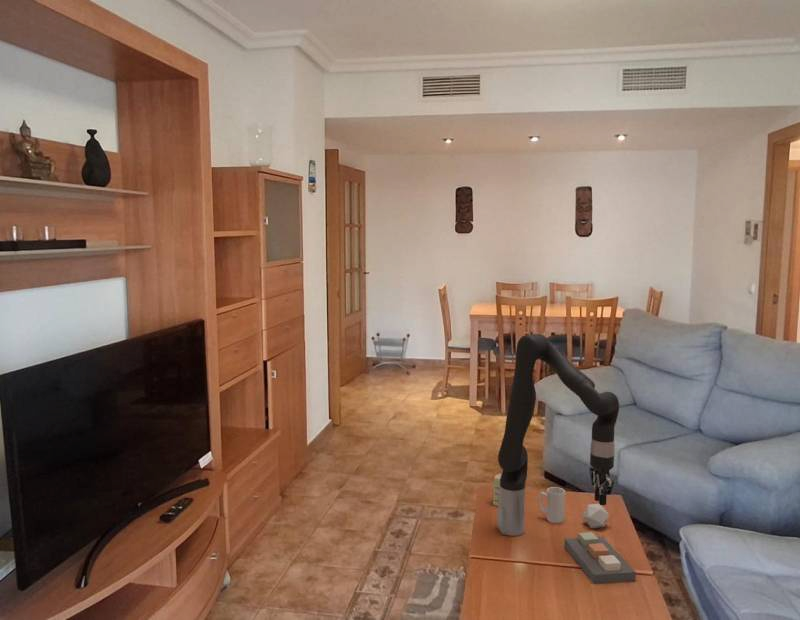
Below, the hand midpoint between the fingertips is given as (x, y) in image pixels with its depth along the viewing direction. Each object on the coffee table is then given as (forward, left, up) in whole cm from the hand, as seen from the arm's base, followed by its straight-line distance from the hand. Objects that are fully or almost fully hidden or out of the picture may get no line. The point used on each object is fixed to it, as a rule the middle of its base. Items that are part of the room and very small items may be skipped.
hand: (600, 502), depth 203 cm
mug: (-4, +33, -21) cm, 39 cm away
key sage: (0, +8, -20) cm, 21 cm away
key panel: (0, 0, -21) cm, 21 cm away
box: (-17, +48, -21) cm, 55 cm away
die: (+11, +26, -21) cm, 35 cm away
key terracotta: (0, 0, -20) cm, 20 cm away
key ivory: (0, -8, -20) cm, 21 cm away
